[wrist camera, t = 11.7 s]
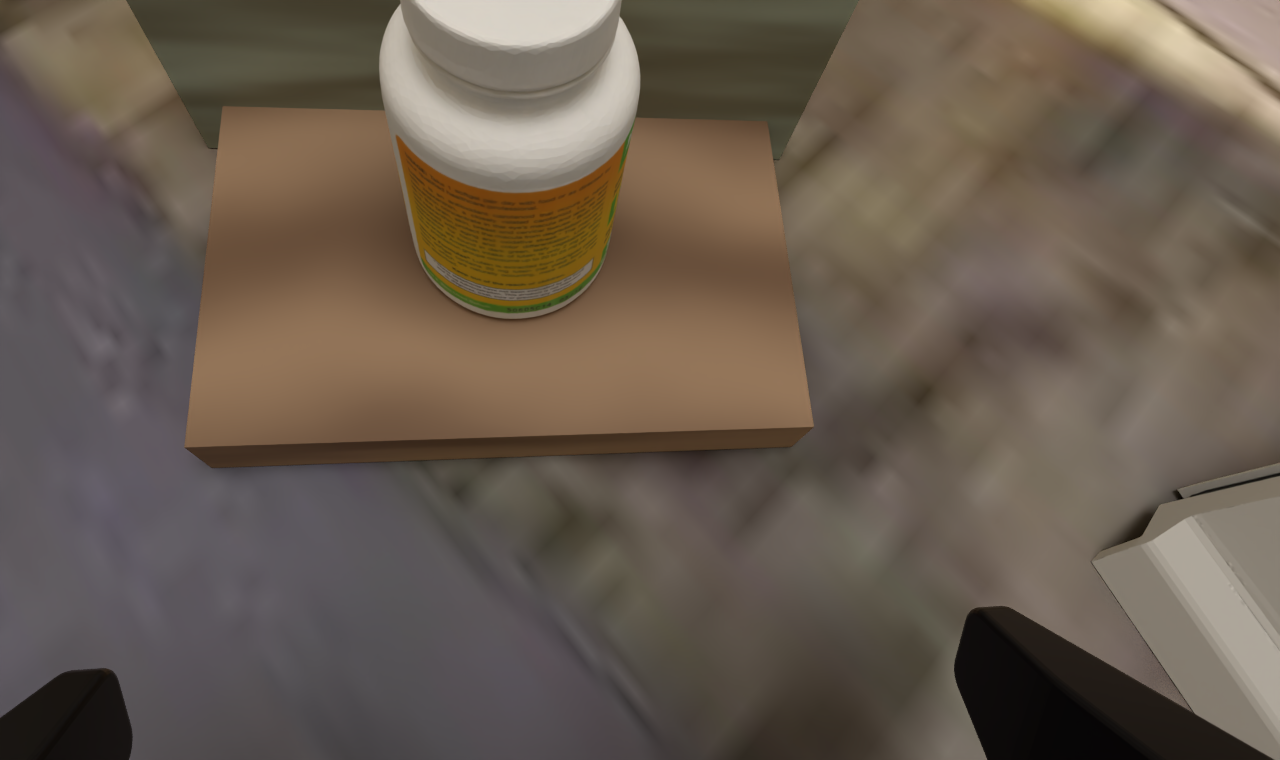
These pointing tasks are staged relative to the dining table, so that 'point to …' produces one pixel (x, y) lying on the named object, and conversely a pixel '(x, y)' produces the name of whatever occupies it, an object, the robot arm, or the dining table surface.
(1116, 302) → the dining table surface
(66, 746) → the robot arm
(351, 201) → the wall board ledge
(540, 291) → the supplement bottle
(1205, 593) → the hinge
